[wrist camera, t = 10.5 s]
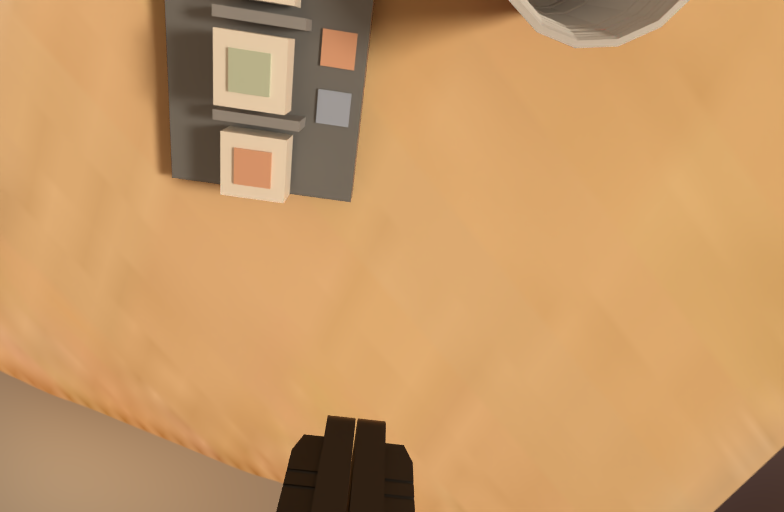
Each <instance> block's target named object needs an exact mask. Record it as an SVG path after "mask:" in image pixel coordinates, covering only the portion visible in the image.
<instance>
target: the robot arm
mask: <svg viewBox="0 0 784 512" xmlns="http://www.w3.org/2000/svg"><path fill="white" fill-rule="evenodd" d="M354 430H355V418H347V417H339V416H330V415H328V418H327V423H326V429H325V435H324V437H323V436H314V435H305V434H304V435H303V436H302V438H301V439H300V440H299V441H298V443H297V444H296V445H295V446H294V448H293V449H292V451H291V455H290V459H289V463H288V467H287V472H286V475H285V479H284V483H283V487H282V492H281V495H280V499H279V503H278V507H277V511H276V512H415V505H414V485H413V462H412V460H411V458H410V457H409V455H408V453H407V451H406V449H405V447H404V445H397V444H388V443H385V436H386V423H385V422H384V421H375V420H367V419H358V421H357V427H356V434H355V441H354V448H353V440H354ZM352 450H353V454H352ZM351 460H352V461H351Z"/></svg>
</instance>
